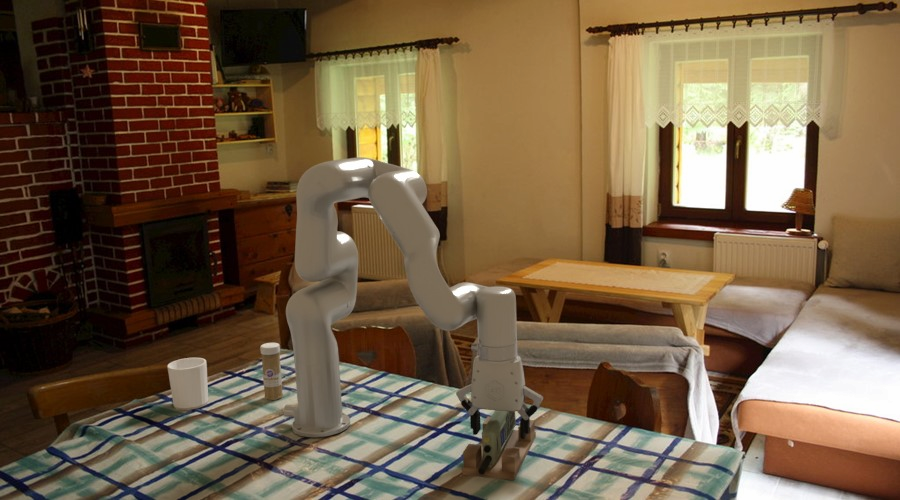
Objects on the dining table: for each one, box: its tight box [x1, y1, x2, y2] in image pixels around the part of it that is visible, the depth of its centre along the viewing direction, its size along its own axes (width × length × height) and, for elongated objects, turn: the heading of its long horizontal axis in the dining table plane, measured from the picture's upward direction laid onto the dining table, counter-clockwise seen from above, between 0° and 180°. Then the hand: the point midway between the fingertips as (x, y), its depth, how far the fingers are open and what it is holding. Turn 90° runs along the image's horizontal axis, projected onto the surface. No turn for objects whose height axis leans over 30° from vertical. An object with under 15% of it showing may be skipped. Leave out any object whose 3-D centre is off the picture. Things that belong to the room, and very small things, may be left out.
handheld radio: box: [478, 410, 517, 475], centre depth 154 cm, size 7×3×25 cm
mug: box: [167, 357, 209, 411], centre depth 189 cm, size 11×9×10 cm
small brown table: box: [461, 415, 537, 481], centre depth 155 cm, size 10×20×4 cm, turn 162°
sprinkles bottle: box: [259, 342, 284, 401], centre depth 191 cm, size 5×5×13 cm
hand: (500, 434), depth 154 cm, fingers open, 9 cm apart
